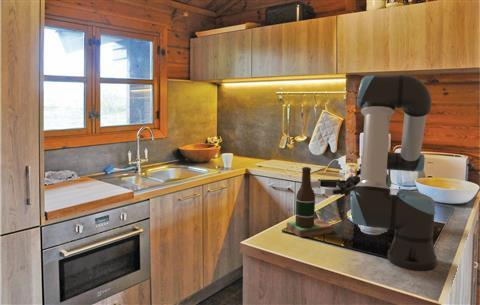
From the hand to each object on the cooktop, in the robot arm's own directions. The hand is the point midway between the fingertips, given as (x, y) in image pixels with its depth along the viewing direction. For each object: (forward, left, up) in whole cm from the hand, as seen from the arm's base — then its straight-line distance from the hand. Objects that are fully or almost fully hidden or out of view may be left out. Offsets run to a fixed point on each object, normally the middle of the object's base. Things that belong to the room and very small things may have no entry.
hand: (315, 188), depth 160 cm
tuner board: (0, +2, -18) cm, 18 cm away
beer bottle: (0, +5, -15) cm, 16 cm away
